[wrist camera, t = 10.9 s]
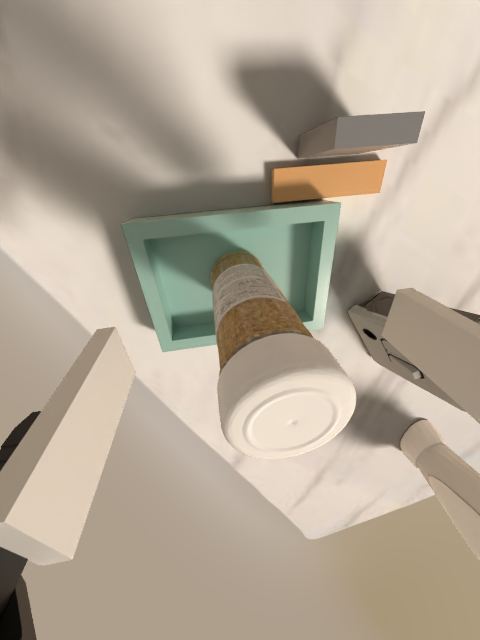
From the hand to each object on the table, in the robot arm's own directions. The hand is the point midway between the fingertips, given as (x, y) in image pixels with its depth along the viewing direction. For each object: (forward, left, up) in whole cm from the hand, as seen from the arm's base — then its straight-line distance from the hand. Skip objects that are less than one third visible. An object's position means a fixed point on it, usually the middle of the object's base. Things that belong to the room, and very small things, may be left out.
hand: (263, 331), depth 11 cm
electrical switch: (+7, +15, -10) cm, 19 cm away
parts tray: (0, 0, -9) cm, 9 cm away
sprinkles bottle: (0, 0, -9) cm, 9 cm away
